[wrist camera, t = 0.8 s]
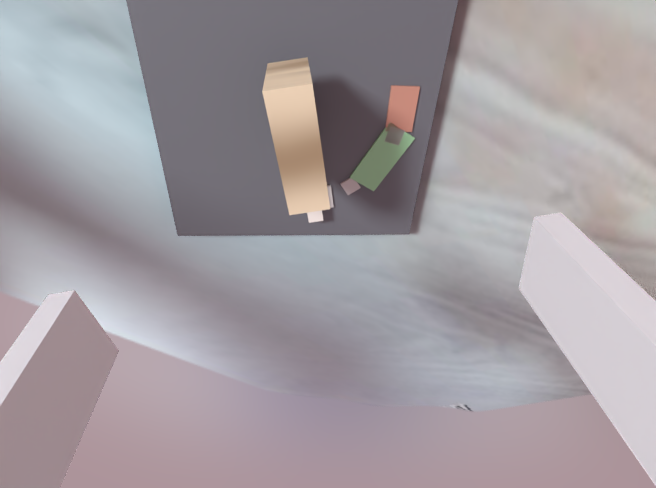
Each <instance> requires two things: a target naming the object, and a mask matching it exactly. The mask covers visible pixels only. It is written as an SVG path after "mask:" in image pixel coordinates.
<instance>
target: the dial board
mask: <svg viewBox="0 0 656 488" xmlns="http://www.w3.org/2000/svg"><path fill="white" fill-rule="evenodd" d="M126 1H127V6H128V10H129V15H130V19H131V24H132V28H133V33H134V38H135V42H136V47H137V51H138V56H139V61H140V65H141V70H142V74H143V79H144V83H145V88H146V93H147V97H148V102H149V106H150V111H151V115H152V120H153V125H154V129H155V134H156V138H157V143H158V147H159V152H160V157H161V161H162V166H163V170H164V175H165V179H166V184H167V189H168V193H169V198H170V202H171V207H172V211H173V216H174V221H175V225H176V230H177V234H178V236H201V235H360V234H409V232H410V227H411V223H412V218H413V213H414V208H415V204H416V199H417V194H418V189H419V185H420V180H421V175H422V170H423V166H424V161H425V156H426V151H427V147H428V142H429V137H430V132H431V128H432V123H433V118H434V113H435V109H436V104H437V99H438V94H439V90H440V85H441V80H442V75H443V70H444V66H445V61H446V56H447V51H448V47H449V42H450V37H451V32H452V28H453V23H454V18H455V13H456V9H457V4H458V0H126ZM306 57H308V63H309V68H310V73H311V79H312V84H313V91H314V97H315V99H316V102H317V108H318V113H317V119H318V126H319V133H320V140H321V147H322V154H323V161H324V168H325V175H326V182H327V189H328V196H329V203H330V209H328V210H322V214H323V221H318V222H311V223H309V220H308V215H307V213H301V214H295V215H289V211H288V206H287V202H286V197H285V193H284V188H283V184H282V179H281V175H280V170H279V166H278V161H277V156H276V152H275V147H274V143H273V138H272V134H271V129H270V125H269V120H268V115H267V111H266V106H265V102H264V97H263V93H262V90H263V85H264V80H265V75H266V69H267V64H268V63H273V62H280V61H286V60H293V59H299V58H306Z"/></svg>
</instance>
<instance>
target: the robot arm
mask: <svg viewBox="0 0 656 488" xmlns="http://www.w3.org/2000/svg"><path fill="white" fill-rule="evenodd" d="M519 290H520V291H521V293H522V294H523V295H524V297H525V298H526V300H527V301H528V303H529V304H530V306H531V307H532V308H533V310H534V311H535V313H536V314H537V316H538V317H539V318H540V320H541V321H542V323H543V324H544V326H545V327H546V329H547V330H548V331H549V333H550V334H551V336H552V337H553V339H554V340H555V342H556V343H557V344H558V346H559V347H560V349H561V350H562V352H563V353H564V355H565V356H566V357H567V359H568V360H569V362H570V363H571V365H572V366H573V368H574V369H575V370H576V372H577V373H578V375H579V376H580V378H581V379H582V381H583V382H584V383H585V385H586V386H587V388H588V389H589V391H590V392H591V393H592V395H593V396H594V398H595V399H596V401H597V402H598V404H599V405H600V406H601V408H602V409H603V411H604V412H605V414H606V415H607V417H608V418H609V419H610V421H611V422H612V424H613V425H614V427H615V428H616V430H617V431H618V432H619V434H620V435H621V437H622V438H623V440H624V441H625V442H626V444H627V445H628V447H629V448H630V450H631V451H632V453H633V454H634V455H635V457H636V458H637V460H638V461H639V463H640V464H641V466H642V467H643V469H644V470H645V471H646V473H647V474H648V476H649V477H650V479H651V480H652V481H653V483H654V484H655V486H656V301H655V300H654V299H653V298H652V297H651V296H650V295H649V294H648V293H647V292H646V291H645V290H643V289H642V288H641V287H640V286H639V285H638V284H637V283H636V282H635V281H634V280H633V279H632V278H631V277H630V276H629V275H627V274H626V273H625V272H624V271H623V270H622V269H621V268H620V267H619V266H618V265H617V264H616V263H615V262H614V261H613V260H611V259H610V258H609V257H608V256H607V255H606V254H605V253H604V252H603V251H602V250H601V249H600V248H599V247H598V246H597V245H595V244H594V243H593V242H592V241H591V240H590V239H589V238H588V237H587V236H586V235H585V234H584V233H583V232H582V231H581V230H579V229H578V228H577V227H576V226H575V225H574V224H573V223H572V222H571V221H570V220H569V219H568V218H567V217H566V216H565V215H563V214H562V213H555V214H549V215H543V216H537V217H534V219H533V224H532V228H531V233H530V238H529V242H528V247H527V252H526V256H525V261H524V265H523V270H522V275H521V279H520V284H519ZM118 352H119V350H118V349H117V348H116V346H115V345H114V343H113V342H112V341H111V339H110V338H109V337H108V335H107V334H106V332H105V331H104V330H103V328H102V327H101V326H100V324H99V323H98V321H97V320H96V319H95V317H94V316H93V315H92V313H91V312H90V311H89V309H88V308H87V306H86V305H85V304H84V302H83V301H82V300H81V298H80V297H79V296H78V294H77V293H76V291H75V290H73V291H66V292H60V293H54V294H48V296H47V297H46V298H45V300H44V301H43V303H42V304H41V305H40V307H39V308H38V310H37V311H36V313H35V314H34V315H33V317H32V318H31V319H30V321H29V322H28V324H27V325H26V326H25V328H24V329H23V331H22V332H21V334H20V335H19V336H18V338H17V339H16V341H15V342H14V343H13V345H12V346H11V348H10V349H9V350H8V352H7V353H6V355H5V356H4V358H3V359H2V360H1V362H0V488H60V487H61V484H62V482H63V479H64V477H65V475H66V473H67V470H68V468H69V466H70V463H71V461H72V459H73V456H74V454H75V452H76V449H77V447H78V445H79V442H80V440H81V438H82V435H83V433H84V431H85V428H86V426H87V424H88V422H89V419H90V417H91V415H92V412H93V410H94V408H95V405H96V403H97V401H98V398H99V396H100V394H101V391H102V389H103V387H104V384H105V382H106V380H107V377H108V375H109V373H110V370H111V368H112V366H113V363H114V361H115V358H116V357H117V354H118Z"/></svg>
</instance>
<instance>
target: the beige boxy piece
mask: <svg viewBox="0 0 656 488" xmlns="http://www.w3.org/2000/svg"><path fill="white" fill-rule="evenodd" d="M262 93H263V97H264V102H265V106H266V111H267V115H268V120H269V125H270V129H271V134H272V138H273V143H274V147H275V152H276V156H277V161H278V166H279V170H280V175H281V179H282V184H283V188H284V193H285V197H286V202H287V206H288V211H289V215H295V214H301V213H307V215H308V220H309V223H311V222H318V221H323V214H322V210H328V209H330V203H329V196H328V189H327V182H326V175H325V168H324V161H323V154H322V147H321V140H320V133H319V126H318V119H317V113H318V108H317V102H316V99H315V97H314V91H313V84H312V79H311V73H310V68H309V63H308V57H306V58H299V59H293V60H286V61H280V62H273V63H268V64H267V69H266V75H265V80H264V85H263V90H262Z"/></svg>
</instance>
